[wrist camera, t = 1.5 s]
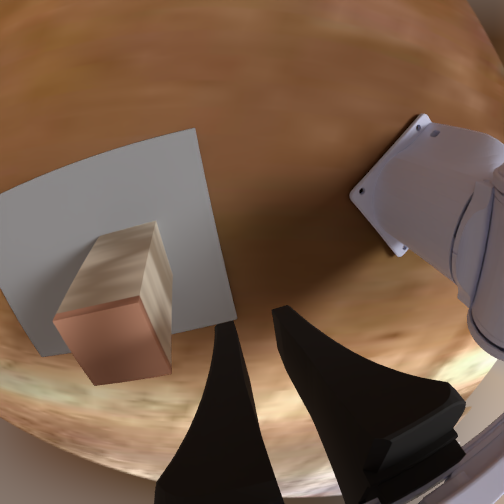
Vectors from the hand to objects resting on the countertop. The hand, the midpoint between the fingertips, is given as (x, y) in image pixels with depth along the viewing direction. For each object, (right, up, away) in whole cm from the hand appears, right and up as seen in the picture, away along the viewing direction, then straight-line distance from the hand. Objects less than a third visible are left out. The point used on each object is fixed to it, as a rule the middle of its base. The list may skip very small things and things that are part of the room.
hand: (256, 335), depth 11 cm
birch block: (-8, +3, +8) cm, 12 cm away
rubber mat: (-11, +2, +8) cm, 14 cm away
